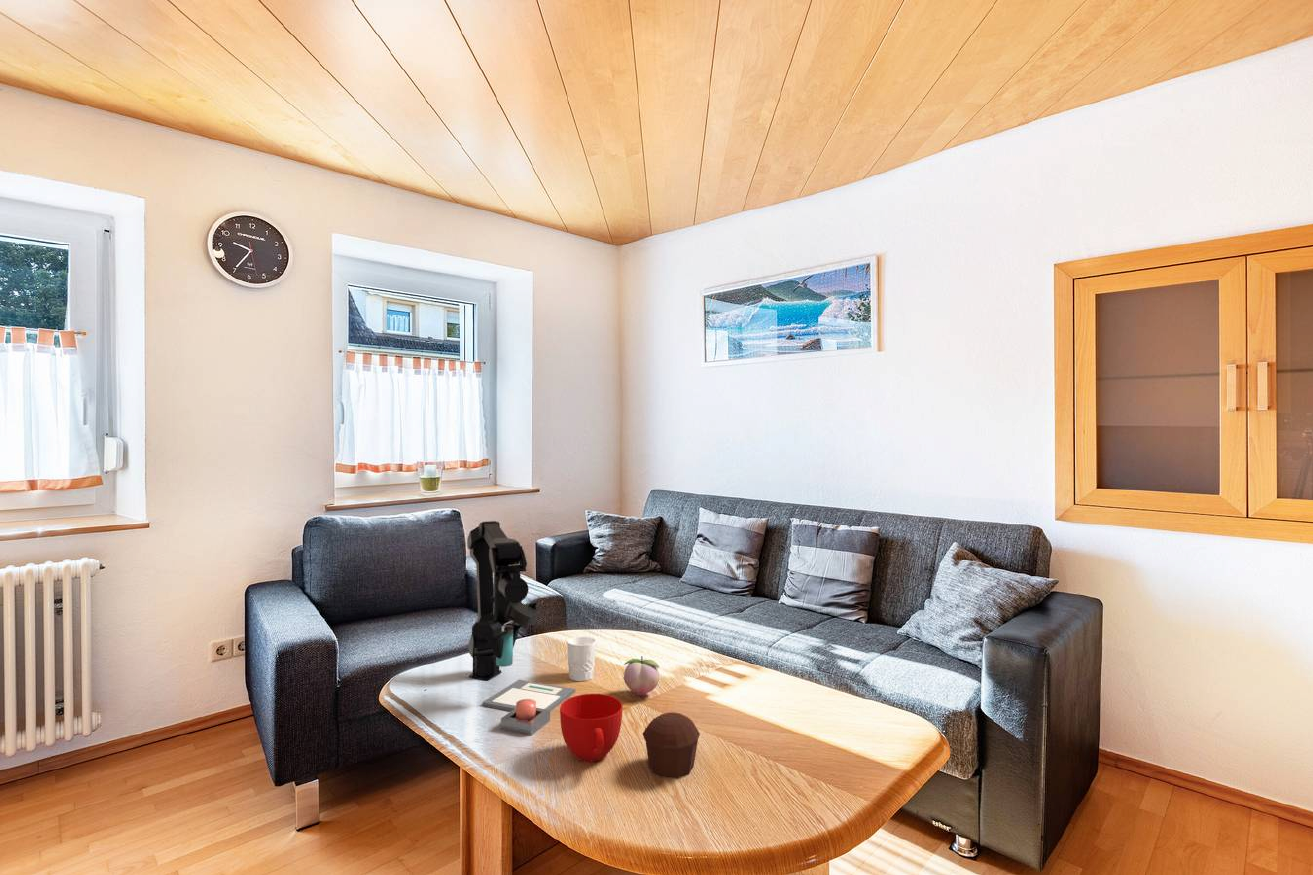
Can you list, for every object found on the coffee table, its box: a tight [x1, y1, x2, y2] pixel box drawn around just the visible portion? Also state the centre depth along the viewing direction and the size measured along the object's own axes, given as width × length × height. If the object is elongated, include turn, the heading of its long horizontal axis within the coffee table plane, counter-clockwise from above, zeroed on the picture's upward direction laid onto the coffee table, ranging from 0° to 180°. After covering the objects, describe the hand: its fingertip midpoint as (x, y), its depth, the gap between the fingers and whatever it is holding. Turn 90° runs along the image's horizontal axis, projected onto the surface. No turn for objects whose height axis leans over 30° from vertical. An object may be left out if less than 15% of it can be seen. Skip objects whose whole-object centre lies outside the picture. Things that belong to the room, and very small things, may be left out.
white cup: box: [566, 635, 597, 682], centre depth 174 cm, size 8×8×10 cm
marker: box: [496, 625, 514, 668], centre depth 157 cm, size 4×4×9 cm
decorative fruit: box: [623, 655, 660, 696], centre depth 163 cm, size 9×8×10 cm
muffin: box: [642, 712, 701, 779], centre depth 127 cm, size 12×11×10 cm
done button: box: [516, 699, 536, 721], centre depth 145 cm, size 4×4×4 cm
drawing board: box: [482, 679, 576, 712], centre depth 159 cm, size 17×16×1 cm
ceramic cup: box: [559, 693, 624, 763], centre depth 130 cm, size 13×17×10 cm
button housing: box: [500, 708, 551, 736], centre depth 145 cm, size 8×8×2 cm
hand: (504, 655), depth 157 cm, fingers closed on marker, 4 cm apart
